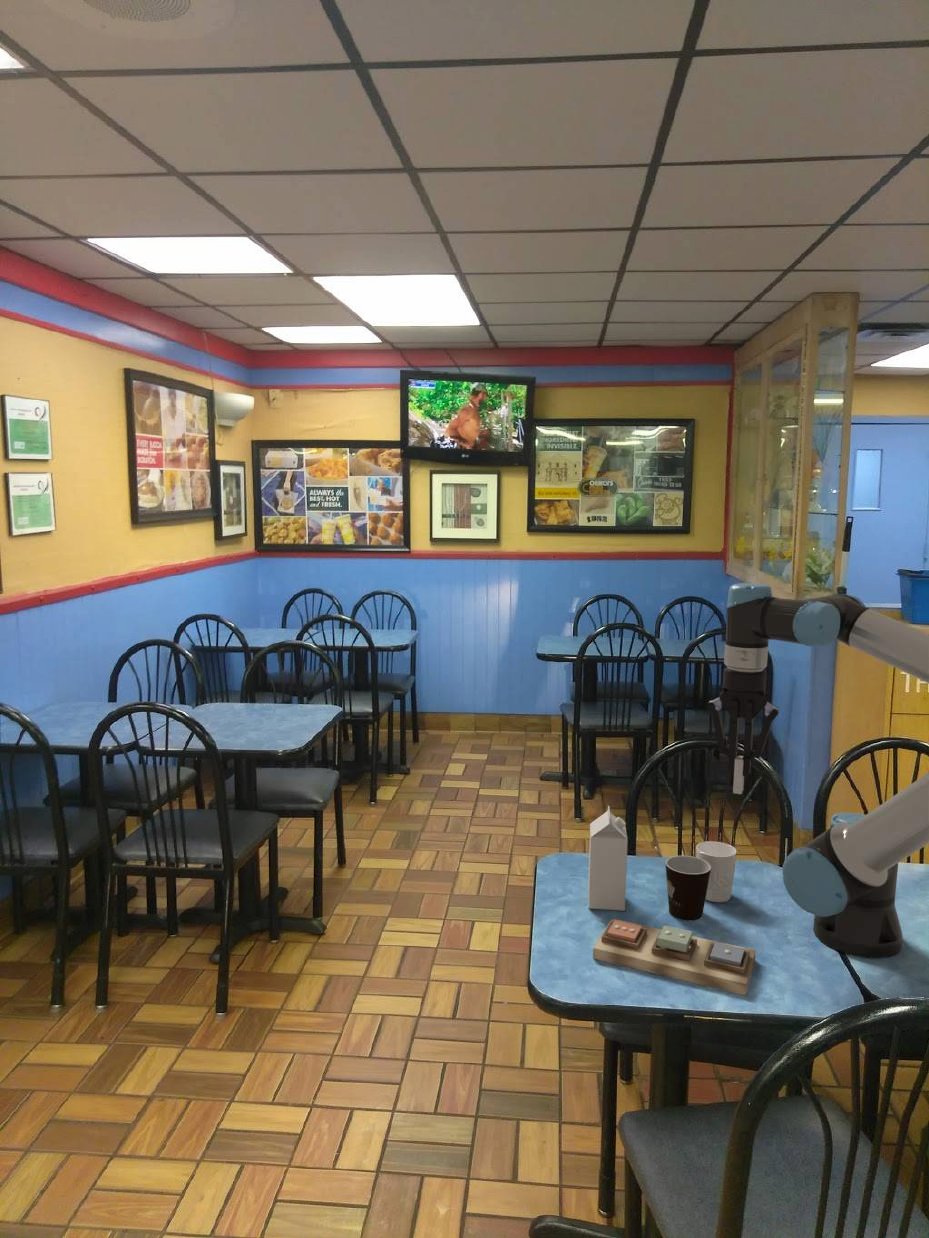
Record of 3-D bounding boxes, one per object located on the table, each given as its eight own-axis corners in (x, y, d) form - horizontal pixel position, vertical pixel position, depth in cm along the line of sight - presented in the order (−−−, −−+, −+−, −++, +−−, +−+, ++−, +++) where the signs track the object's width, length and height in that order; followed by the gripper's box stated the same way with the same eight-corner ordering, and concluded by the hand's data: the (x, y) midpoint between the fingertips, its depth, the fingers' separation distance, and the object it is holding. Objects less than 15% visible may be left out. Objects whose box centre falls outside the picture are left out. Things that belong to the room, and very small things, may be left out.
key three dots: (641, 933, 160) (641, 925, 160) (634, 946, 156) (634, 937, 155) (614, 927, 162) (614, 919, 162) (607, 940, 158) (607, 931, 158)
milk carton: (588, 909, 174) (591, 817, 171) (587, 893, 181) (590, 804, 178) (625, 911, 173) (628, 819, 170) (622, 895, 180) (626, 806, 177)
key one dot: (744, 956, 153) (744, 947, 152) (739, 970, 148) (740, 961, 148) (714, 950, 155) (715, 941, 154) (709, 963, 150) (710, 954, 150)
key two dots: (691, 939, 156) (692, 930, 156) (686, 952, 152) (686, 943, 151) (663, 933, 158) (664, 924, 158) (657, 945, 154) (657, 936, 154)
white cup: (706, 905, 176) (708, 858, 174) (687, 888, 183) (689, 842, 182) (741, 901, 178) (744, 854, 176) (721, 884, 185) (723, 839, 184)
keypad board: (755, 960, 155) (756, 944, 155) (745, 995, 145) (746, 978, 144) (611, 928, 166) (612, 913, 166) (592, 958, 156) (593, 942, 155)
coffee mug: (709, 925, 168) (712, 876, 166) (663, 920, 169) (665, 871, 168) (705, 898, 179) (708, 851, 178) (662, 894, 181) (664, 847, 179)
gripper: (705, 668, 161) (699, 792, 164) (780, 675, 155) (772, 803, 159) (712, 661, 167) (706, 780, 171) (784, 667, 162) (776, 790, 165)
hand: (738, 791), depth 165 cm, fingers closed
